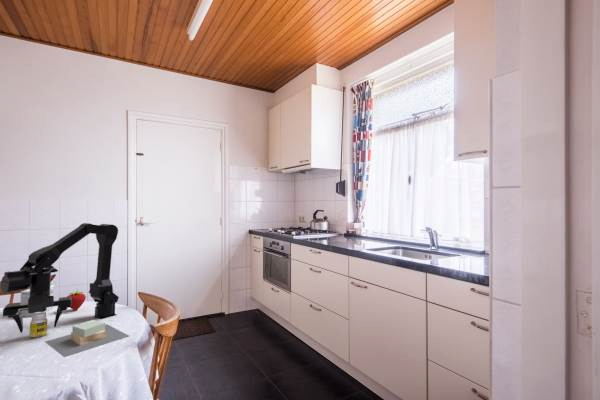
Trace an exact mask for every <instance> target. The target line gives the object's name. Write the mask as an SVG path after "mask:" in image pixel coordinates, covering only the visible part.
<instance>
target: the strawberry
mask: <svg viewBox="0 0 600 400" xmlns="http://www.w3.org/2000/svg"><path fill="white" fill-rule="evenodd" d="M76 290H77V291H75V292H69V294H68V295H67V296H66V297H71V298H72V305H71V307H69V308H70V309H72V311H73V312H74V311H75V312H76V311H78V310H79V309H80V308H81V306H82V305H84V304H83V303H84V302H85V301H86V298H87V297H86V295H85V294H84V291H79V290H78V289H76Z"/></svg>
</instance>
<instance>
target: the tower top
mask: <svg viewBox="0 0 600 400" xmlns="http://www.w3.org/2000/svg"><path fill="white" fill-rule="evenodd" d="M105 325H106V322H103V321H98V320H95V319H91V320H88V321H85V322H82V323H77V324H75V325H72V327H71V328H72V329H71V332H72V333H73V334H76V335H79V336H82V337H87V336H89V335H92V334H95V333H98V332H101V331H103V330H105Z"/></svg>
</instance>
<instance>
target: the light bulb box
mask: <svg viewBox="0 0 600 400" xmlns="http://www.w3.org/2000/svg"><path fill="white" fill-rule="evenodd" d="M54 287H55V285H54V284H50V296H54ZM29 297H30V288H27V289H24V290H20V302H21V305H26V304H28V299H29ZM53 308H54V306H53V307H47V308H46V311H44V313H47V312H48V311H49V310H52V309H53ZM36 313H43V312H35V313H28V310H22V317H32V315H33V314H36Z"/></svg>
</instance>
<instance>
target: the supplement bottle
mask: <svg viewBox="0 0 600 400" xmlns="http://www.w3.org/2000/svg"><path fill="white" fill-rule="evenodd" d="M47 332H48V318H47V312H43V313H36V314H33V315H32V316H31V320H30V322H29V339H30V340H39V339H43V338H45V337H46V336H47Z"/></svg>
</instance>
